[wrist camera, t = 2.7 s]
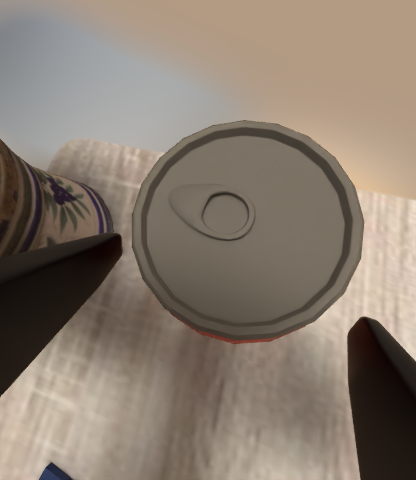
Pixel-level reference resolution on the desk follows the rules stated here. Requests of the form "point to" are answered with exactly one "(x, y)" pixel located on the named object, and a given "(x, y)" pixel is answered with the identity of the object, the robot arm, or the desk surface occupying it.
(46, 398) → the desk surface
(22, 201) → the vase
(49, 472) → the flat blue rectangular block
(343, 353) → the desk surface
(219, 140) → the beer can
